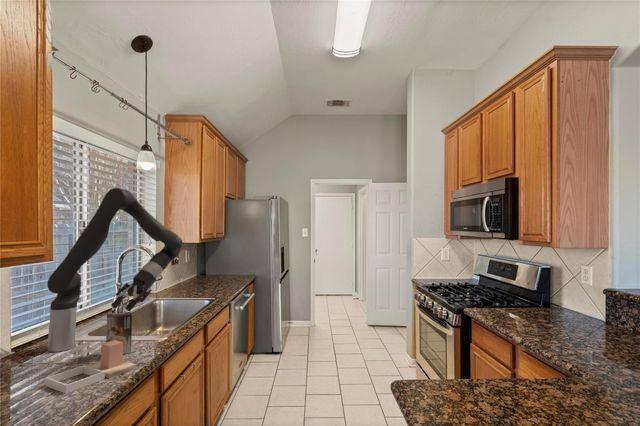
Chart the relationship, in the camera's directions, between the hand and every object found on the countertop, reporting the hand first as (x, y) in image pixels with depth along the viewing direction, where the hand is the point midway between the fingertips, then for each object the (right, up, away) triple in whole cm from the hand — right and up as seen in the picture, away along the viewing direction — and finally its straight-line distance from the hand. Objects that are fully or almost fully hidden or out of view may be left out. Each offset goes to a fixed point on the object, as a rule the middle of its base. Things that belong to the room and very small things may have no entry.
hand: (120, 308), depth 129 cm
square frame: (-6, -21, -15) cm, 26 cm away
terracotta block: (-1, -20, -4) cm, 20 cm away
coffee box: (-8, -22, +13) cm, 27 cm away
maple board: (-1, -21, -4) cm, 22 cm away
